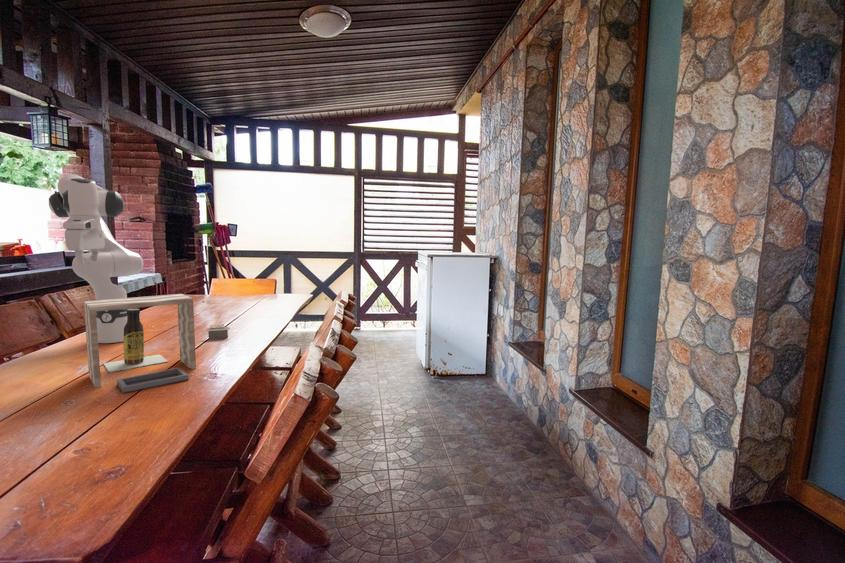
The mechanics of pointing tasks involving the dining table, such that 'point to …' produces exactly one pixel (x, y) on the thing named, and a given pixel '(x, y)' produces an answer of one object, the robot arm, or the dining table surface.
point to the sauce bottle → (133, 338)
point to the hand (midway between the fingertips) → (88, 262)
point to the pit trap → (151, 380)
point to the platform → (218, 332)
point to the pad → (146, 362)
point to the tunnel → (135, 302)
